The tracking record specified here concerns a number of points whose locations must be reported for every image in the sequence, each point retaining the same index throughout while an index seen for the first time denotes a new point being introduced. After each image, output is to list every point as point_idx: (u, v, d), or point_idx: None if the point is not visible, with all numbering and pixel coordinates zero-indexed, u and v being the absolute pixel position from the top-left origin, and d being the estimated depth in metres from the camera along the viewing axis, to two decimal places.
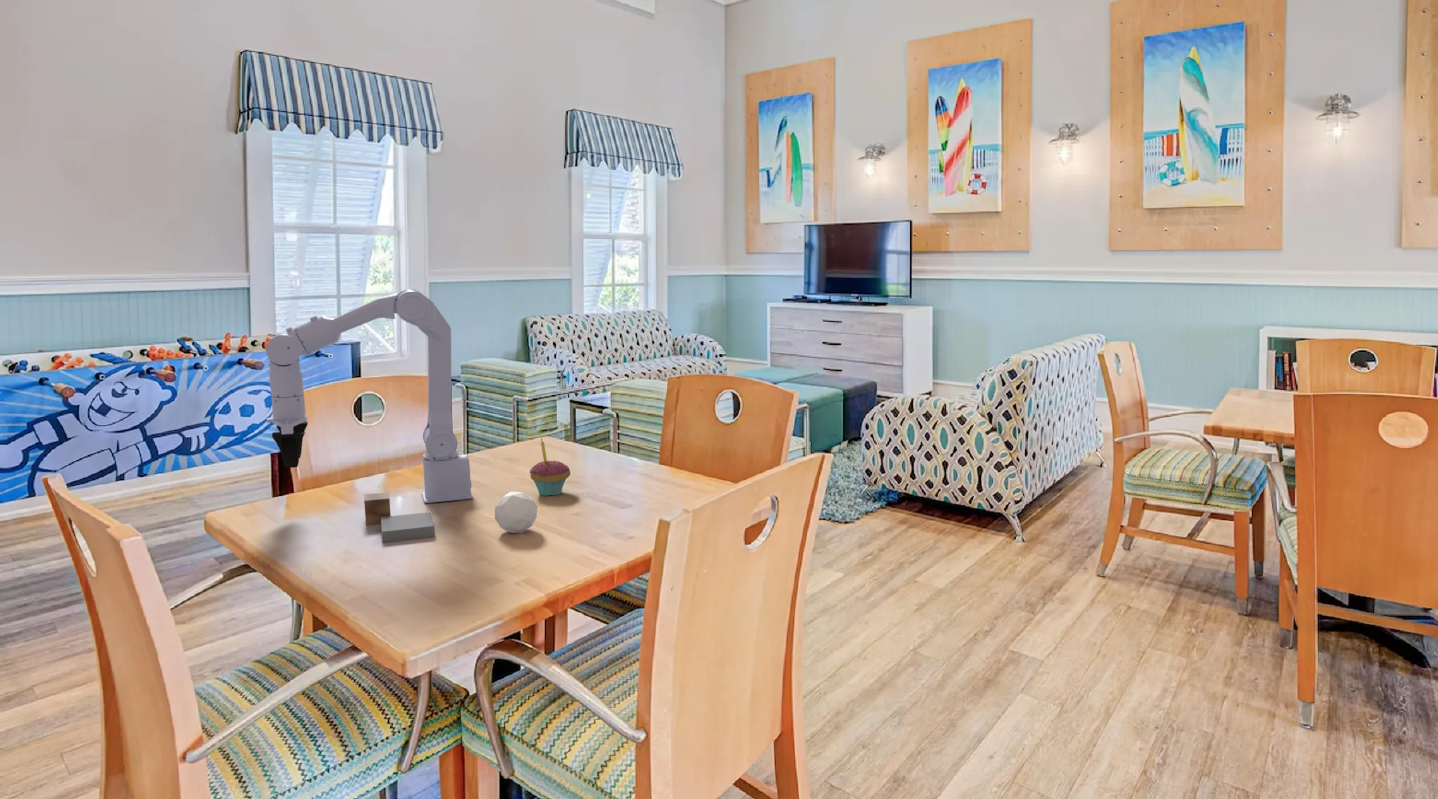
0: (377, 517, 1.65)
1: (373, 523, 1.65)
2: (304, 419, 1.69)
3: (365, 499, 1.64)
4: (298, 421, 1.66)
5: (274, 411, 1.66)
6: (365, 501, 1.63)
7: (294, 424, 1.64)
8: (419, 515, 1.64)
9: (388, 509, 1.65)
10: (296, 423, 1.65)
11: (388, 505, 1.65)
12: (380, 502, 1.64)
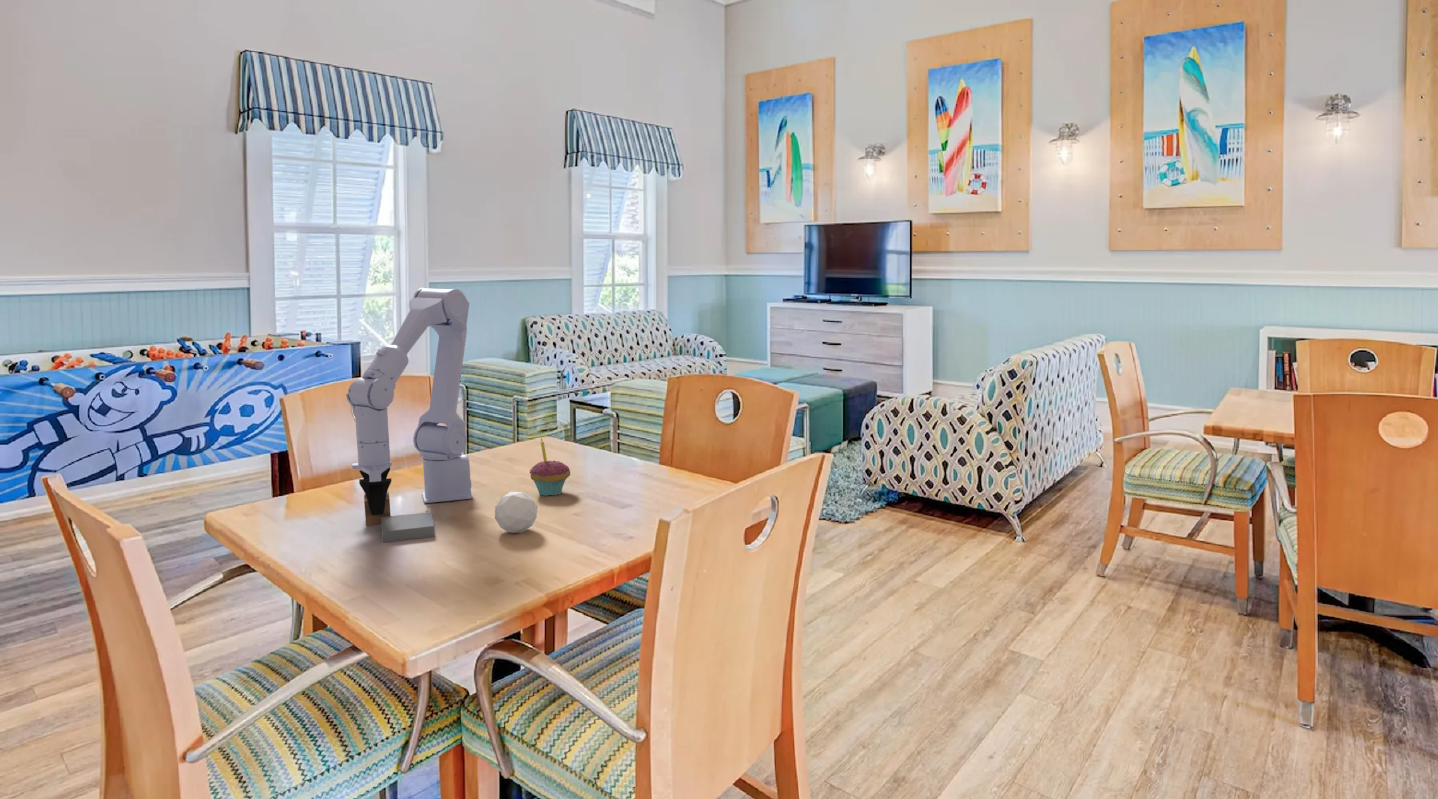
0: (377, 517, 1.65)
1: (373, 523, 1.65)
2: (389, 465, 1.65)
3: (365, 499, 1.64)
4: (385, 467, 1.62)
5: (360, 457, 1.62)
6: (365, 501, 1.63)
7: (381, 471, 1.60)
8: (419, 515, 1.64)
9: (388, 509, 1.65)
10: (383, 470, 1.61)
11: (388, 505, 1.65)
12: None
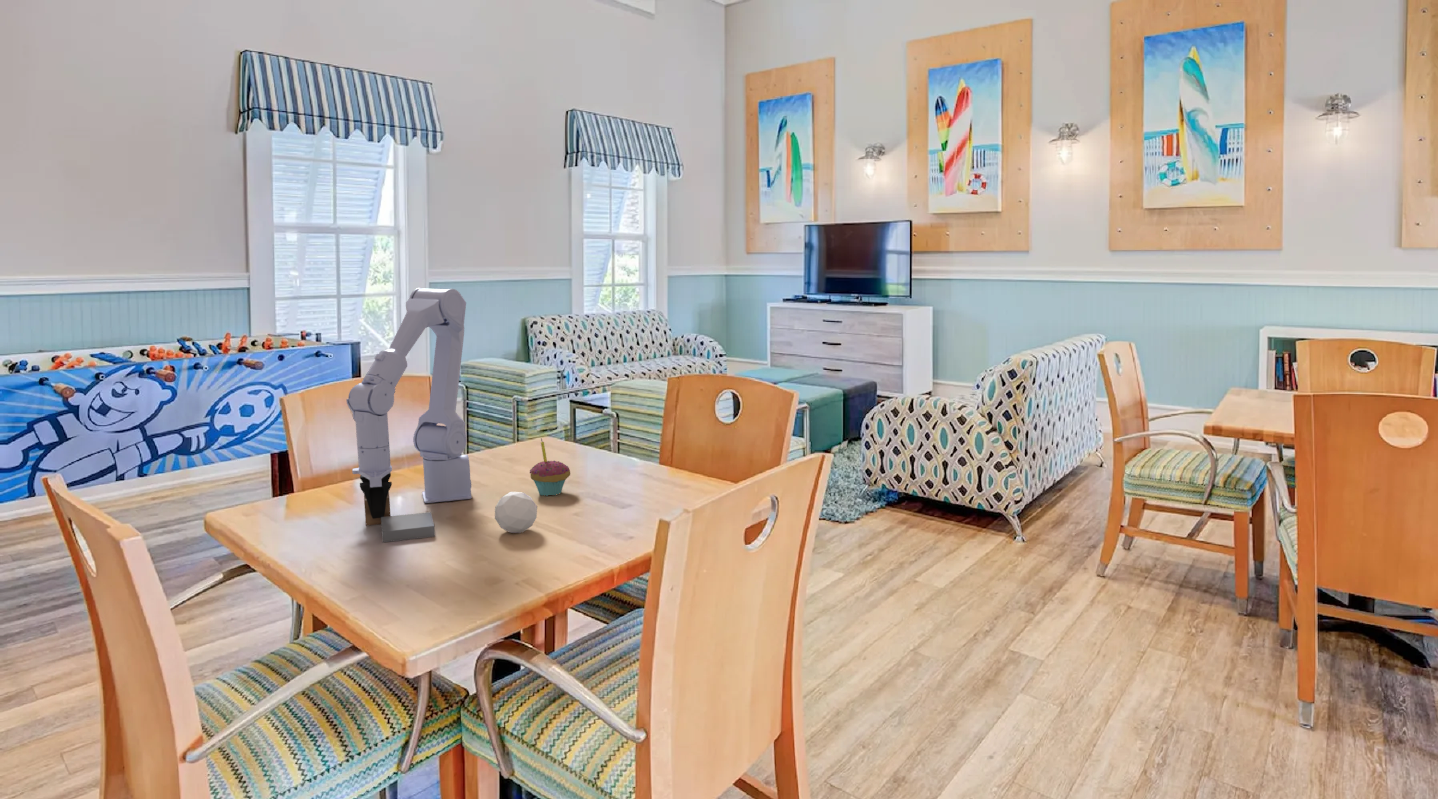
0: None
1: (373, 523, 1.65)
2: (390, 470, 1.65)
3: (365, 499, 1.64)
4: (385, 472, 1.62)
5: (360, 462, 1.63)
6: (365, 501, 1.63)
7: (382, 476, 1.61)
8: (419, 515, 1.64)
9: (388, 509, 1.65)
10: (383, 475, 1.61)
11: (388, 505, 1.65)
12: None
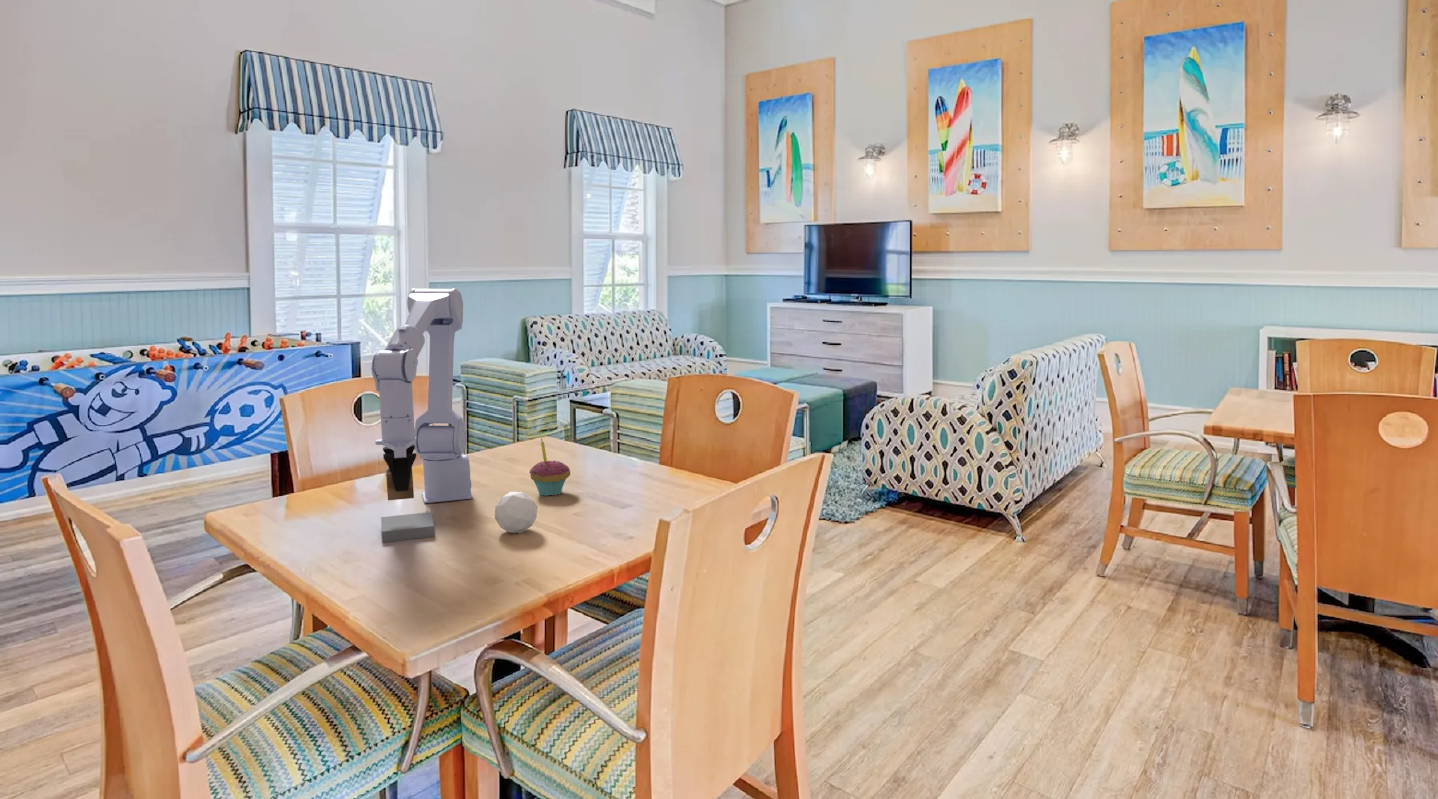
0: (399, 491, 1.58)
1: (395, 498, 1.58)
2: (414, 441, 1.58)
3: (387, 472, 1.57)
4: (410, 443, 1.55)
5: (384, 432, 1.56)
6: (387, 474, 1.56)
7: (406, 447, 1.54)
8: (419, 515, 1.64)
9: (411, 483, 1.58)
10: (408, 445, 1.54)
11: (411, 479, 1.58)
12: None
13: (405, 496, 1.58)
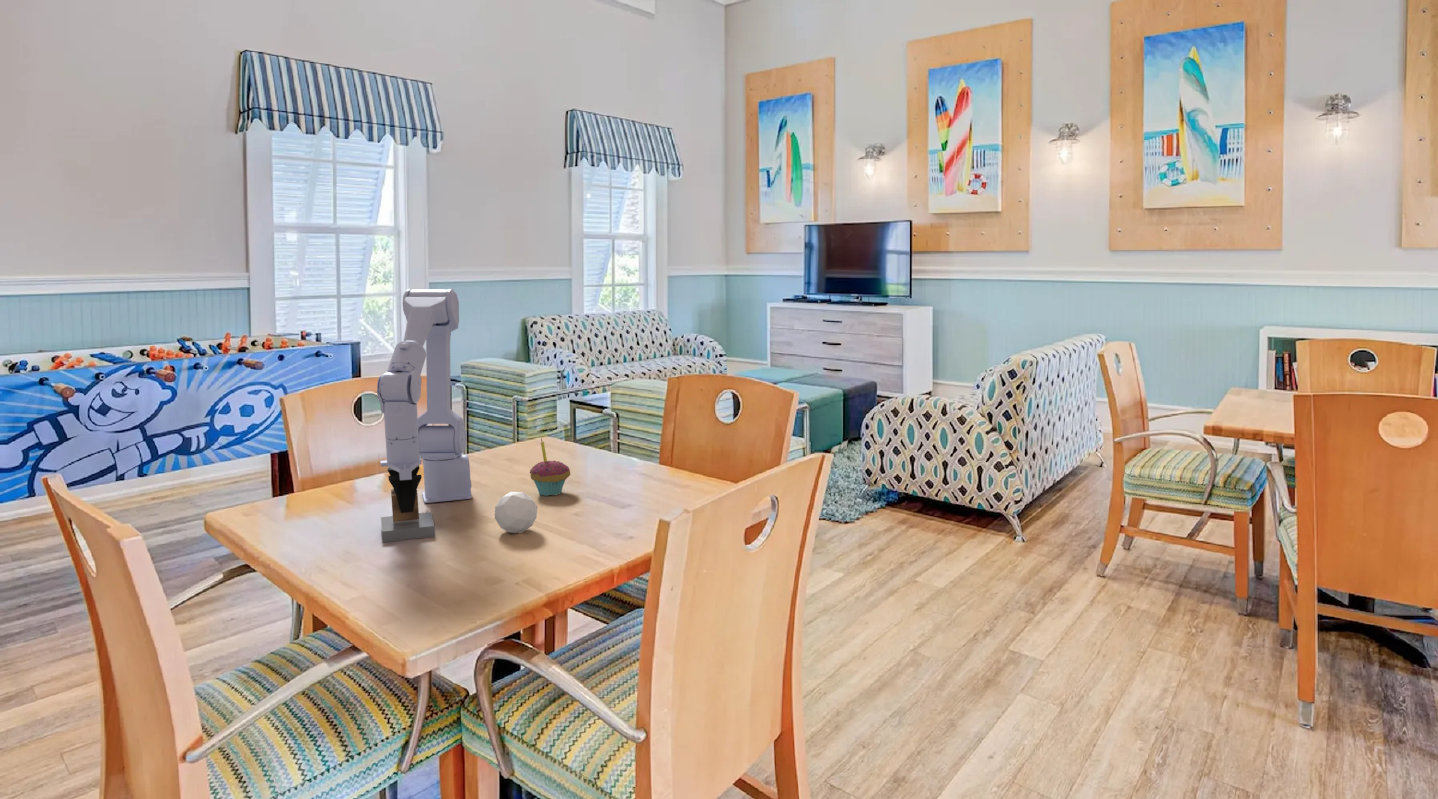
0: None
1: (400, 519, 1.58)
2: (419, 462, 1.58)
3: (392, 494, 1.57)
4: (415, 465, 1.55)
5: (389, 454, 1.56)
6: (392, 496, 1.56)
7: (412, 469, 1.54)
8: (419, 515, 1.64)
9: (416, 504, 1.58)
10: (413, 467, 1.55)
11: (416, 500, 1.58)
12: None
13: (410, 517, 1.58)
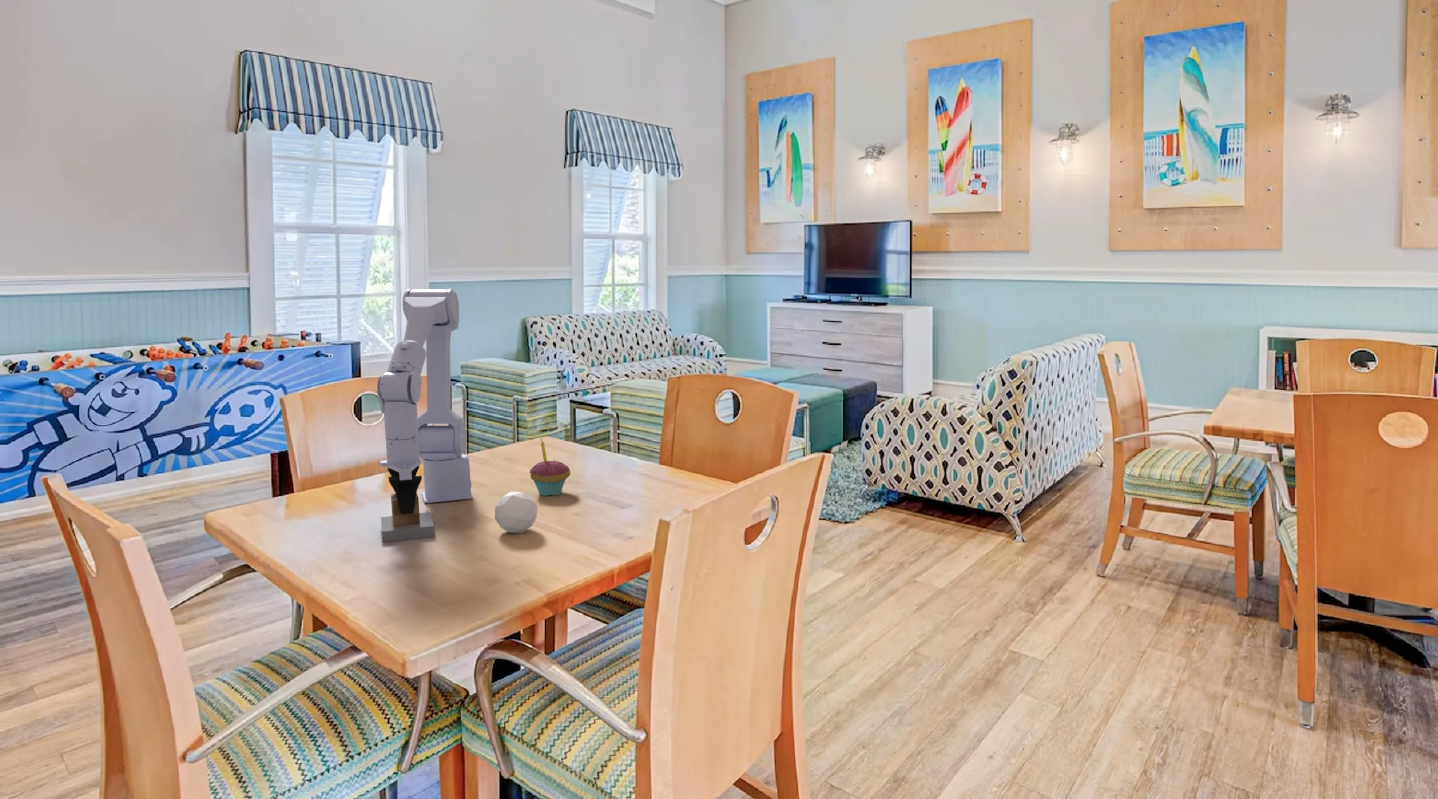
0: (405, 517, 1.58)
1: (401, 524, 1.58)
2: (419, 462, 1.58)
3: (393, 499, 1.57)
4: (415, 465, 1.55)
5: (389, 454, 1.56)
6: (393, 501, 1.57)
7: (412, 469, 1.54)
8: None
9: (417, 509, 1.58)
10: (413, 467, 1.55)
11: (417, 505, 1.58)
12: None
13: (411, 522, 1.58)
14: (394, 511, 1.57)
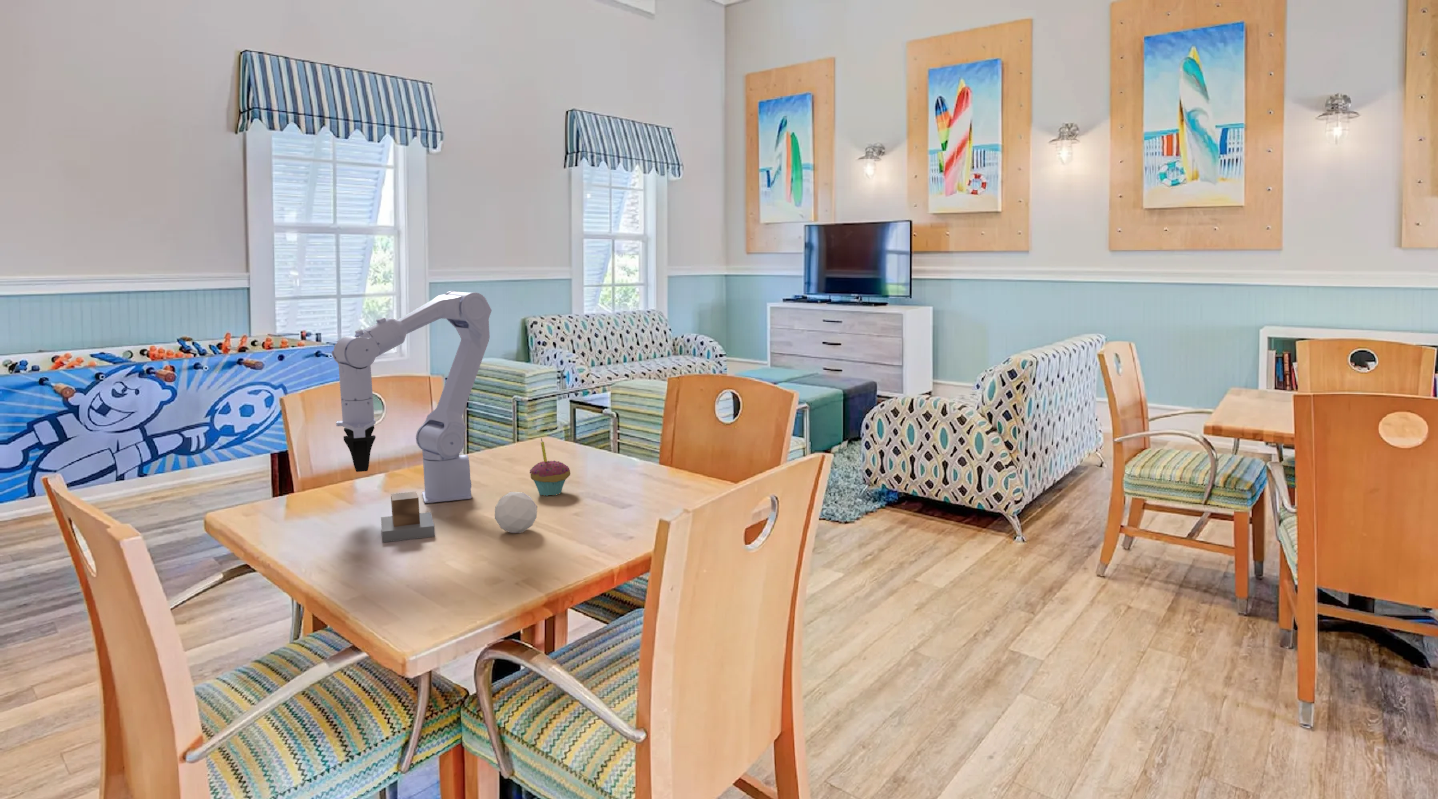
0: (405, 517, 1.58)
1: (401, 524, 1.58)
2: (373, 422, 1.67)
3: (393, 499, 1.57)
4: (369, 424, 1.64)
5: (344, 414, 1.65)
6: (393, 501, 1.57)
7: (366, 427, 1.63)
8: None
9: (417, 509, 1.58)
10: (367, 426, 1.64)
11: (417, 505, 1.58)
12: (409, 502, 1.58)
13: (411, 522, 1.58)
14: (394, 511, 1.57)
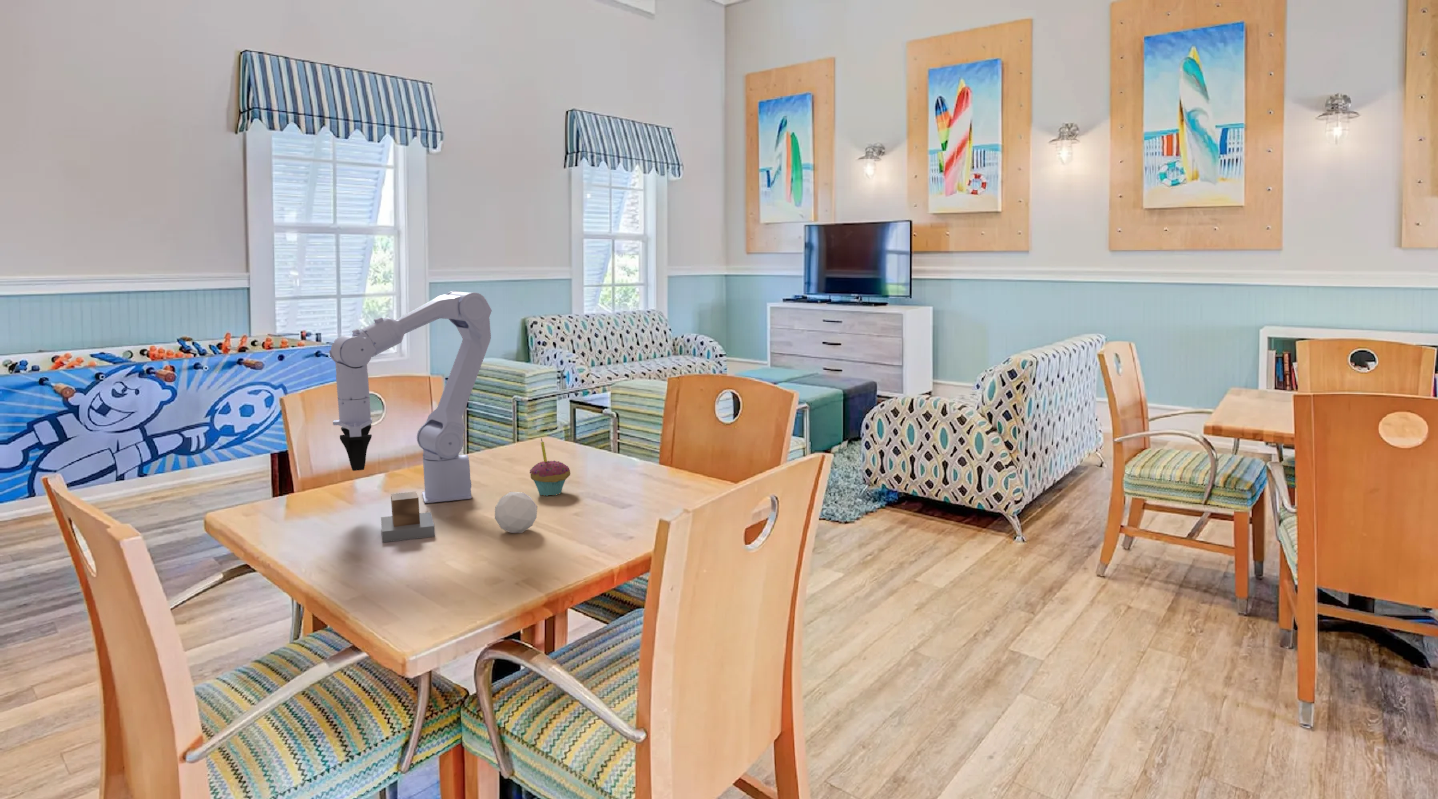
0: (405, 517, 1.58)
1: (401, 524, 1.58)
2: (370, 421, 1.68)
3: (393, 499, 1.57)
4: (365, 424, 1.65)
5: (341, 413, 1.65)
6: (393, 501, 1.57)
7: (362, 427, 1.63)
8: None
9: (417, 509, 1.58)
10: (363, 426, 1.64)
11: (417, 505, 1.58)
12: (409, 502, 1.58)
13: (411, 522, 1.58)
14: (394, 511, 1.57)
